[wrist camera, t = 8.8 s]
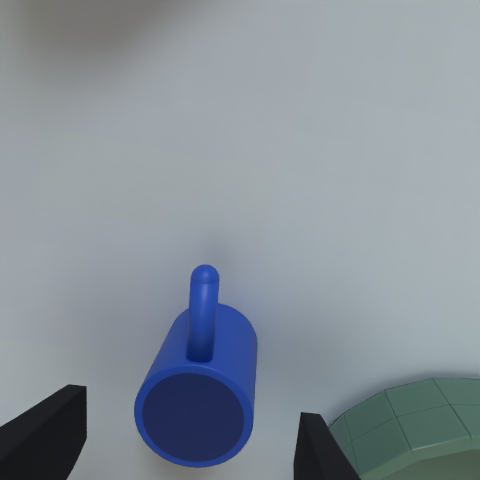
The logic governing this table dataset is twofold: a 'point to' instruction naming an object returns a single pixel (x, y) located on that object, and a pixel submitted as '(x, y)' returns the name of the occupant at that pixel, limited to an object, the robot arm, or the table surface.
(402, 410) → the green plant saucer
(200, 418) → the scoop
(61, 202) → the table surface
